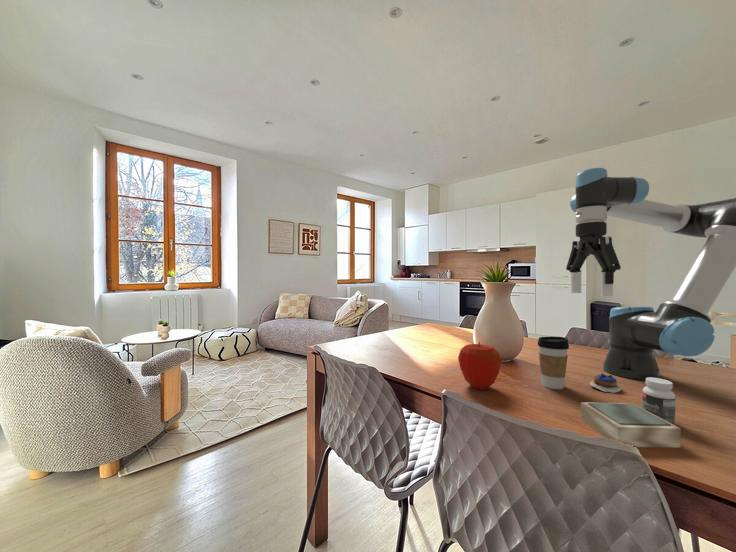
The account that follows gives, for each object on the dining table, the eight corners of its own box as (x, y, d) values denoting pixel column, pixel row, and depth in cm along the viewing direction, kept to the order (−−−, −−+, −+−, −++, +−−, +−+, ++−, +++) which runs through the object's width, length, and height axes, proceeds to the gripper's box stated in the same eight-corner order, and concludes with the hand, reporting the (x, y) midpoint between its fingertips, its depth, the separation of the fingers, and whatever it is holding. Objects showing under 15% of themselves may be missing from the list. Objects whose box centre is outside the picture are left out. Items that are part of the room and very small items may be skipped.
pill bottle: (635, 417, 76) (636, 376, 76) (657, 416, 77) (657, 376, 77) (659, 429, 70) (659, 385, 70) (682, 428, 71) (683, 384, 71)
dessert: (602, 378, 100) (614, 368, 96) (618, 398, 95) (631, 388, 91) (581, 381, 98) (592, 370, 94) (596, 401, 93) (608, 391, 89)
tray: (632, 419, 75) (632, 402, 75) (680, 448, 63) (680, 426, 63) (580, 418, 75) (580, 401, 75) (618, 446, 63) (618, 425, 63)
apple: (506, 386, 96) (507, 341, 96) (491, 398, 88) (491, 348, 87) (468, 377, 105) (468, 335, 105) (451, 387, 96) (451, 341, 96)
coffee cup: (573, 392, 92) (574, 341, 92) (542, 390, 94) (542, 340, 94) (562, 382, 100) (562, 335, 100) (533, 380, 102) (533, 334, 102)
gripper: (554, 228, 106) (554, 291, 106) (608, 215, 81) (607, 297, 81) (577, 228, 105) (577, 291, 105) (638, 215, 80) (637, 297, 81)
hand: (590, 294), depth 93 cm, fingers open, 13 cm apart
